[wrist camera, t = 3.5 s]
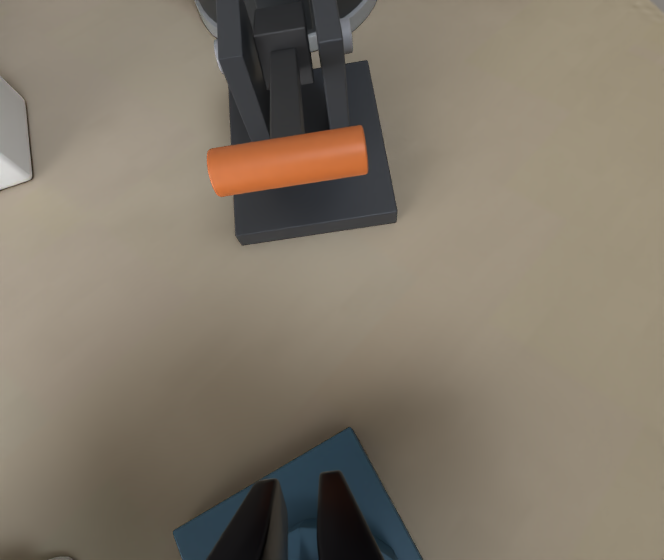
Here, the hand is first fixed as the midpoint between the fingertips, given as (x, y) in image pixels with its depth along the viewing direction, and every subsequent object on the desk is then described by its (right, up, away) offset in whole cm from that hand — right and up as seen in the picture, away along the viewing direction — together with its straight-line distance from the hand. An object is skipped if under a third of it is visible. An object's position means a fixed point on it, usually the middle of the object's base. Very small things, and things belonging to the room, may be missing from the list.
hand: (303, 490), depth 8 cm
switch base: (-1, +12, +19) cm, 22 cm away
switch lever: (-1, +11, +10) cm, 15 cm away
